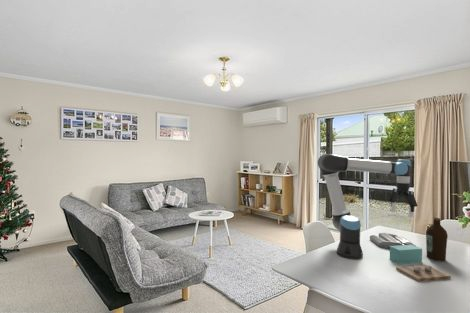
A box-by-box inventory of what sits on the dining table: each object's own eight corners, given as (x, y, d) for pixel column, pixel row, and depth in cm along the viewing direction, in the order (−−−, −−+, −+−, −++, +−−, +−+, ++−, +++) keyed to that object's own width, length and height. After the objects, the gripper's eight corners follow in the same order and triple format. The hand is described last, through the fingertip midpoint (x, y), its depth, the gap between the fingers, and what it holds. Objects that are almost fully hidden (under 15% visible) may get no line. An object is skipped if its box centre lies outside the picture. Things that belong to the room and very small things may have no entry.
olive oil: (441, 256, 169) (442, 216, 169) (450, 262, 159) (451, 220, 159) (422, 254, 172) (423, 215, 171) (430, 260, 161) (431, 219, 161)
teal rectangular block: (398, 263, 156) (399, 250, 156) (389, 259, 163) (389, 246, 163) (421, 262, 159) (422, 248, 159) (411, 257, 166) (412, 244, 166)
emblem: (424, 241, 184) (398, 246, 172) (424, 248, 184) (398, 254, 172) (386, 230, 209) (361, 233, 197) (386, 236, 209) (361, 241, 197)
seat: (418, 281, 134) (418, 273, 134) (396, 269, 148) (396, 262, 148) (450, 278, 138) (450, 270, 138) (426, 267, 152) (426, 260, 152)
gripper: (425, 184, 167) (423, 218, 167) (392, 180, 191) (391, 210, 191) (415, 184, 165) (414, 219, 165) (383, 180, 189) (382, 210, 189)
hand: (401, 214), depth 178 cm, fingers open, 13 cm apart
